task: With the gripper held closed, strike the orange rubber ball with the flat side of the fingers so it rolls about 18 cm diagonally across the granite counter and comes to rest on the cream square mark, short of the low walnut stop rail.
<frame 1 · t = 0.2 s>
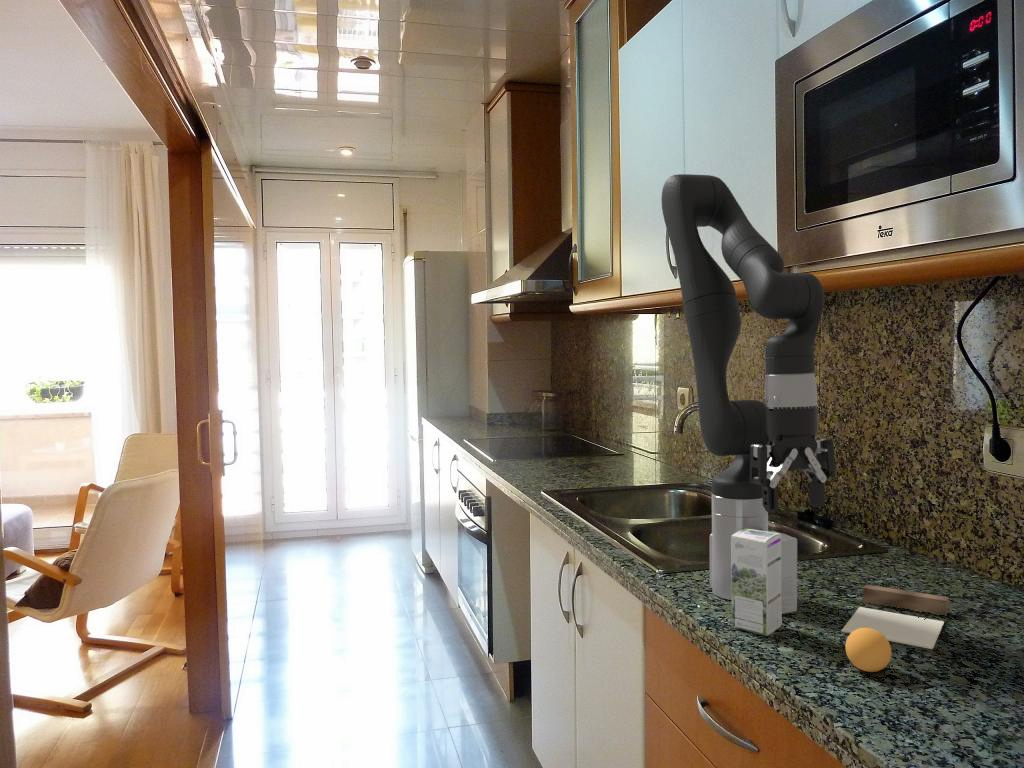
hand: (794, 509, 118), 18 cm above the countertop, tool pointing down, fingers open, 8 cm apart
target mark: (893, 627, 116), on the countertop
skincare box: (774, 609, 126), on the countertop
syrup box: (756, 628, 117), on the countertop
stop rail: (904, 607, 124), on the countertop
ball: (868, 649, 101), on the countertop
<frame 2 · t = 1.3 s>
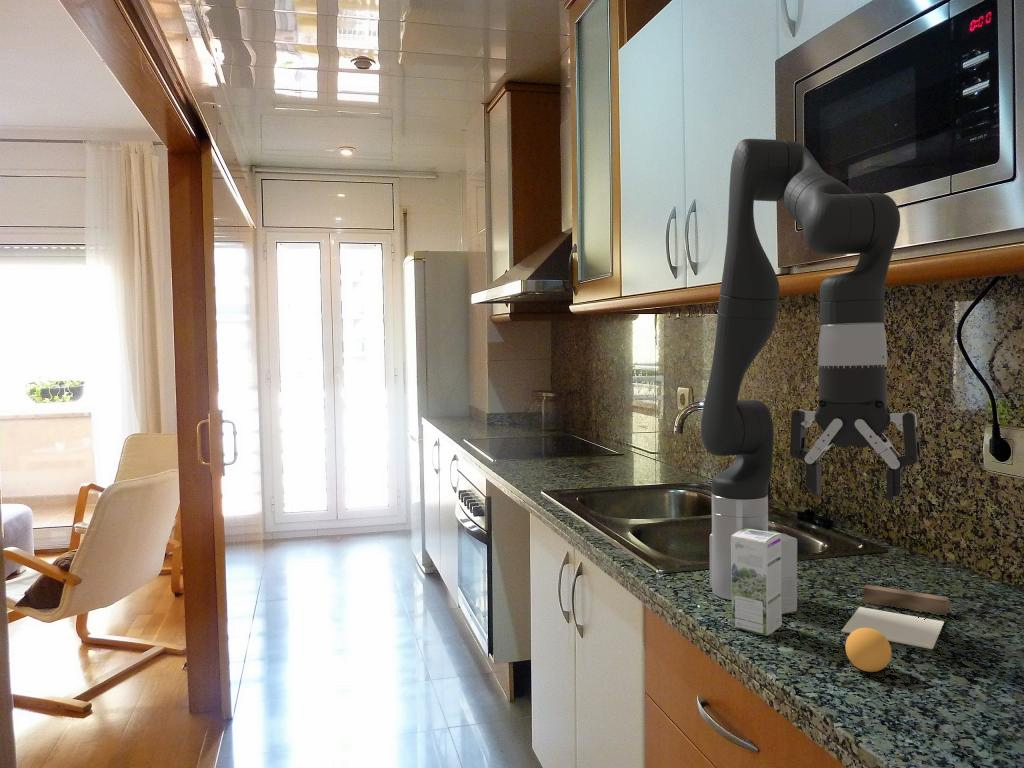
hand: (853, 496, 93), 25 cm above the countertop, tool pointing down, fingers open, 8 cm apart
nothing on the countertop moved.
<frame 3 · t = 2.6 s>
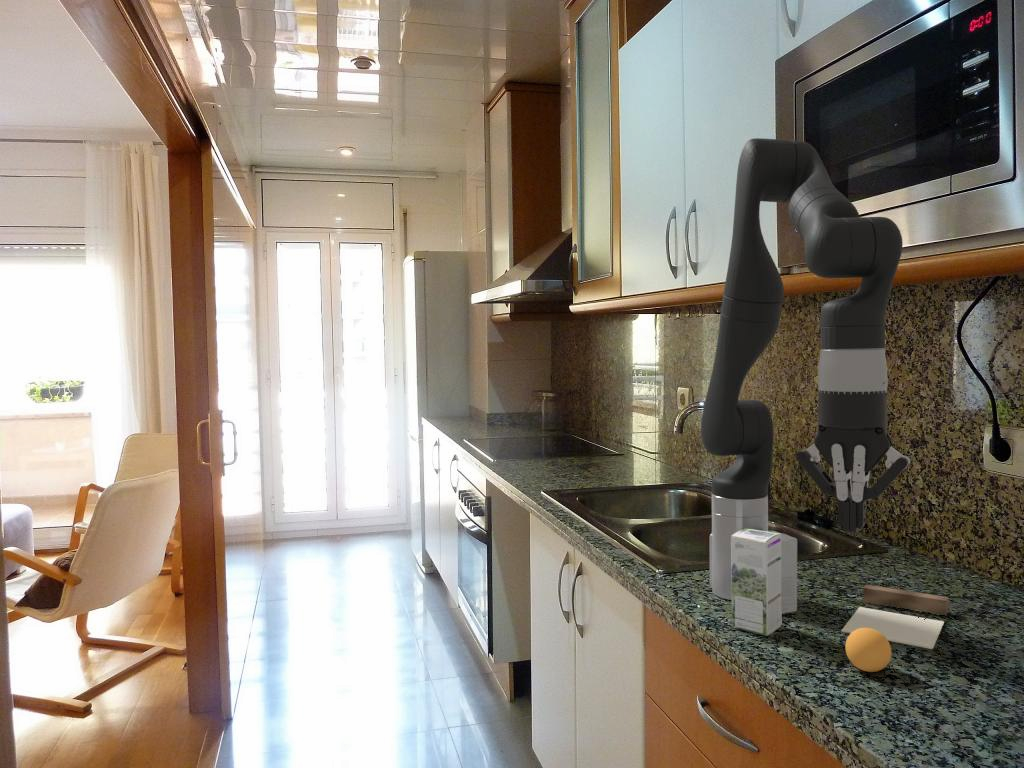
hand: (851, 530, 93), 21 cm above the countertop, tool pointing down, fingers closed
nothing on the countertop moved.
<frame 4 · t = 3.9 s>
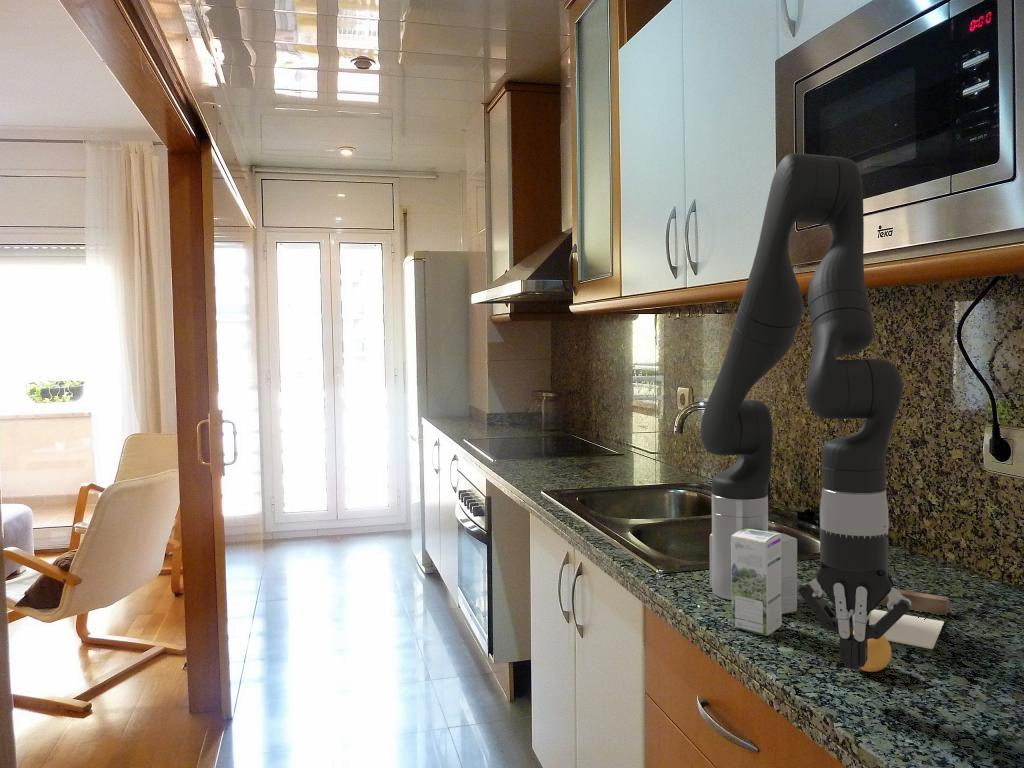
hand: (854, 667, 93), 4 cm above the countertop, tool pointing down, fingers closed
nothing on the countertop moved.
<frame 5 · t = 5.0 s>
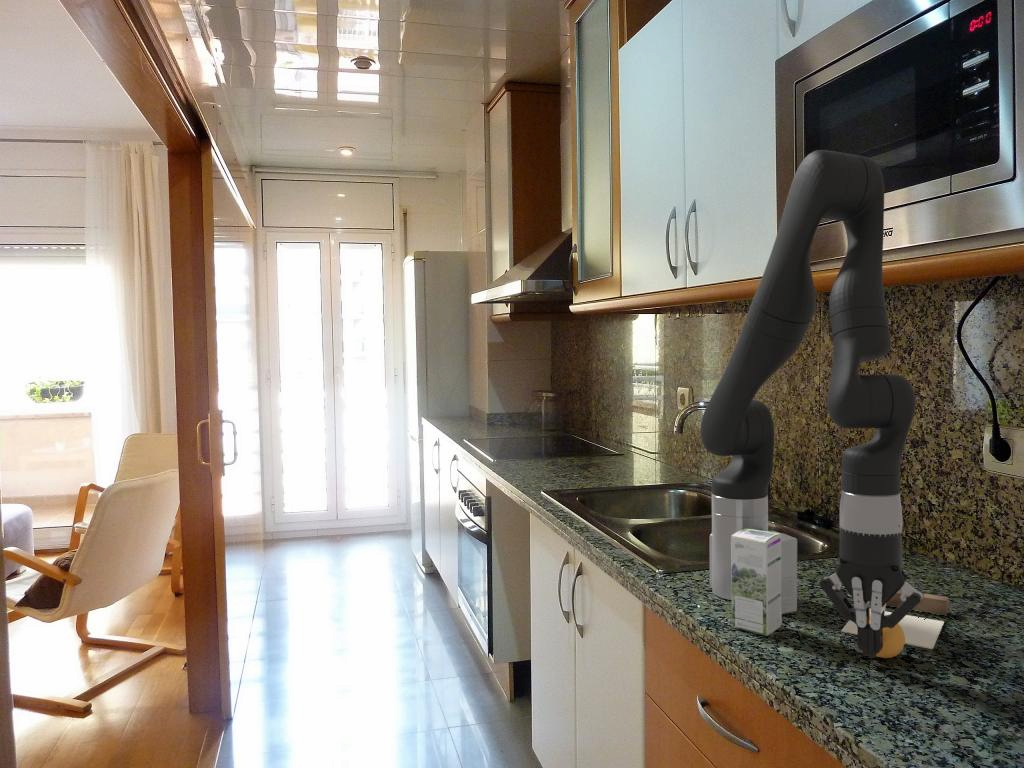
hand: (870, 653, 103), 2 cm above the countertop, tool pointing down, fingers closed
ball: (882, 636, 106), on the countertop
everything else where it was.
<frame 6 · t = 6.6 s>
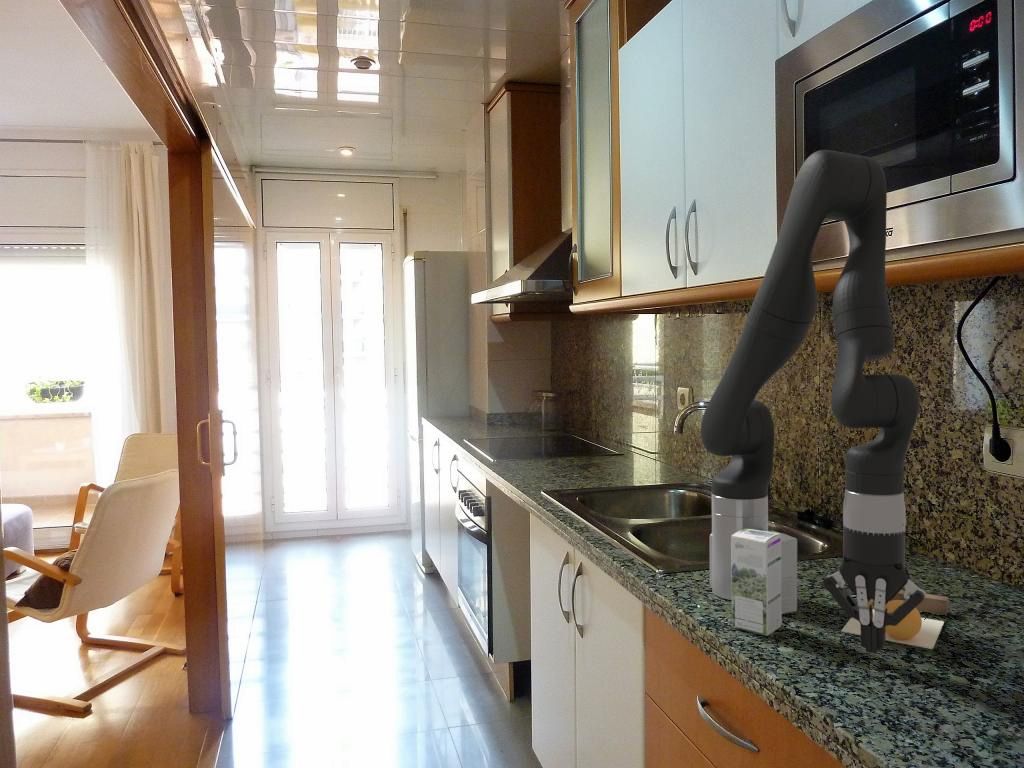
hand: (873, 651, 104), 2 cm above the countertop, tool pointing down, fingers closed
ball: (900, 619, 112), on the countertop
everything else where it was.
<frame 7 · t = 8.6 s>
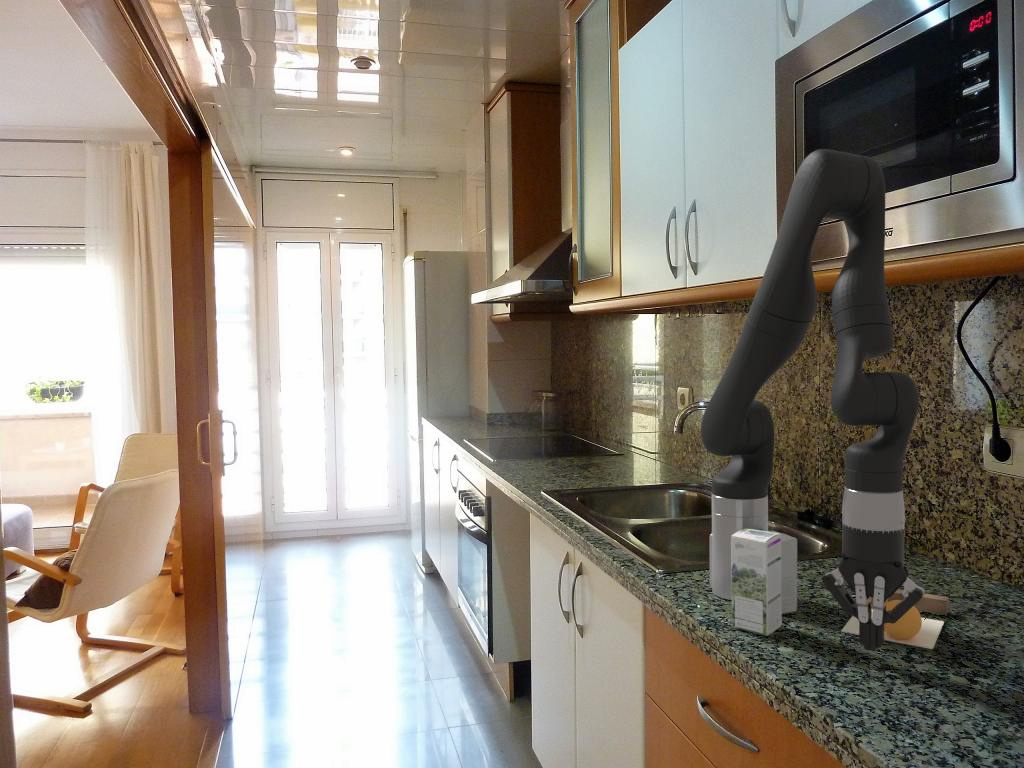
hand: (871, 648, 104), 2 cm above the countertop, tool pointing down, fingers closed
nothing on the countertop moved.
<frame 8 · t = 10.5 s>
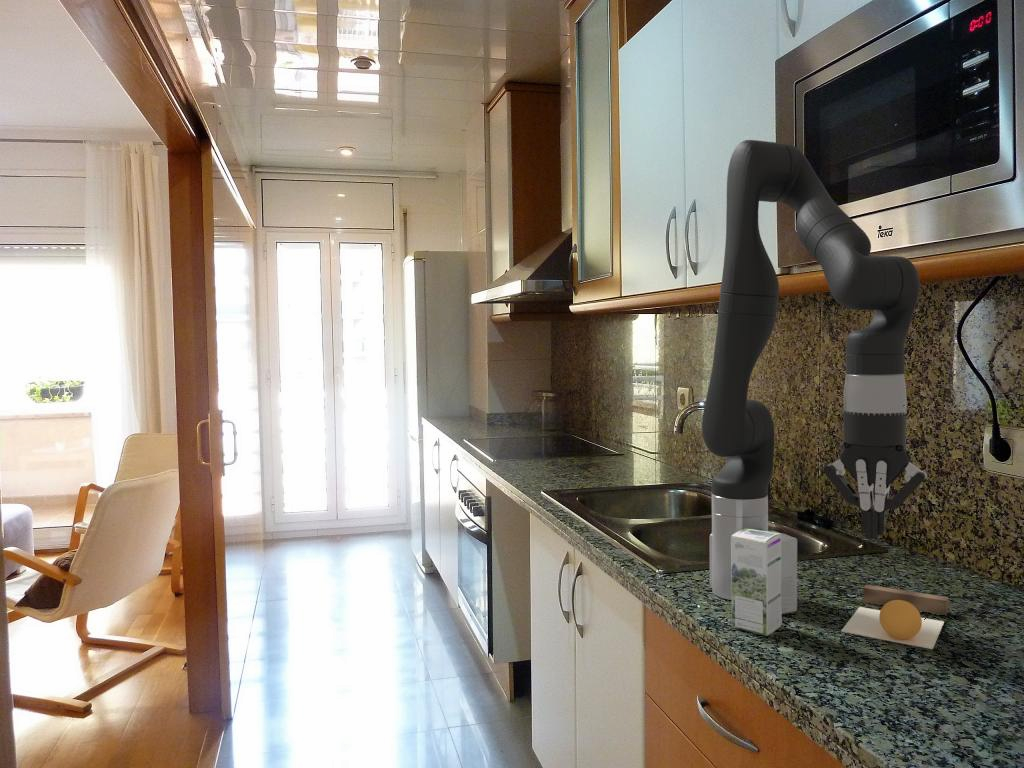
hand: (873, 537, 103), 17 cm above the countertop, tool pointing down, fingers closed
nothing on the countertop moved.
at the end: ball 4.3 cm from the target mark (horizontally); ball at rest at the end (0.0 cm/s); ball moved 14.0 cm from its start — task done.
